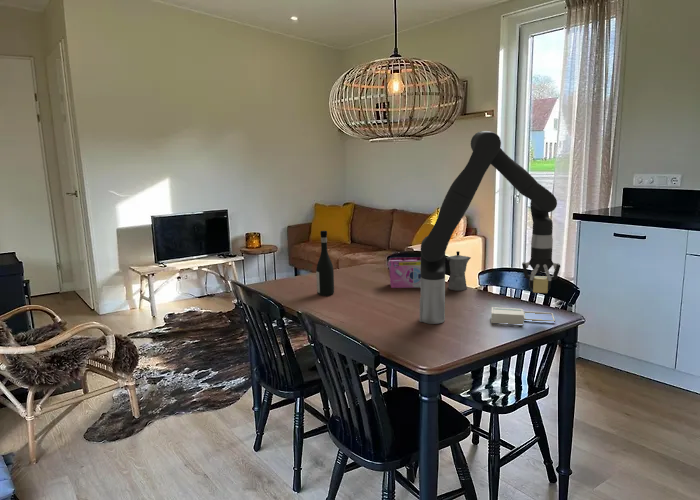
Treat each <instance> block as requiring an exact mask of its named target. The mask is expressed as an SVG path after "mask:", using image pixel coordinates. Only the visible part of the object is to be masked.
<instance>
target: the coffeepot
mask: <svg viewBox="0 0 700 500" xmlns="http://www.w3.org/2000/svg"><path fill="white" fill-rule="evenodd" d="M460 253H461V252H460V251H458V250H457V251H456V254H455V255H449V256H445V262H448V263H449V272H450V274H449V272H448V271H447V268H446V267H445V275H449V280H448V284H447V285H448V286H447V288H448V290H450V291H465V290H468V289H467V288H468V287H467V279H466V270H467V266H468V265H467V264H468V263H469V261H470V259H471V258H472V257H470V256H466V255H460Z"/></svg>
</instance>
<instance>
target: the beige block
mask: <svg viewBox="0 0 700 500" xmlns="http://www.w3.org/2000/svg"><path fill="white" fill-rule="evenodd" d="M532 292H533V293H534V294H536V293H537V294H540V293H541V294H548V279H547V275H545V276H544V275H542V276H541V275H535V276H534V279H533V290H532Z"/></svg>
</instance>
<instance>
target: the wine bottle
mask: <svg viewBox="0 0 700 500" xmlns="http://www.w3.org/2000/svg"><path fill="white" fill-rule="evenodd" d="M319 233H320V244H321V245H320V249H321V250H320V256H319V259H318V262H317V265H316V271H315V273H316V276H315V277H316V294H317V295H318V296H320V297H321V296H322V297H331V296H332V295H334V294H335V271H334V265H333V263H332V261H331V258H330V255H329V253H328V236H327V235H328V231H327V230H321V231H320V232H319Z"/></svg>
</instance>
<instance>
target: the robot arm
mask: <svg viewBox="0 0 700 500" xmlns="http://www.w3.org/2000/svg"><path fill="white" fill-rule="evenodd" d="M501 147H502V141H501V137H500V136H499V135H498V134H497V133H496V132H494V131H489V130H480V131H478V132H477V133H475V134H473V136H472V137H471V140H470V148H471V151H472V152H471V154H470V157H469V159H468V162H467V164H466V165H465V167H464V168H463V170H462V171H461V172H460V173H459V174H458V176H457V177H455V179H454V180H453V182H452V184H451V185H450V187H449V188H448V191H447V193H446V195H445V196H444V199H443V200H442V204H441V206H440V208H439V211H438V216H437V218H436V221H435V223H434V224H433V227H432V229H431V230H430V231H429V233H428V235H427V236H425V237H424V238H423V239H422V241H421V244H420V257H421V287H420V297H419V323H425V324H429V325H434V324H435V325H438V324H442V323H444V322H445V316H446V314H445V312H446V311H445V310H446V306H445V305H446V304H445V303H446V302H445V301H446V297H445V296H446V274H445V268H446V261H445V257H446V251H447V248H448V245H449V243H450V240H451V238H452V236H453V234H454V232H455V230H456V228H457V227H458V225H459V223H460V222H461V221H462V219H463V217H464V216H465V214H466V212H467V210H468V209H469V207H470V205H471V203H472V200H473V199H474V196H475V194H476V192H477V190H478V189H479V186H480V185H481V182H482V180H483V178H484V176H485V175H486V173H487V171H488V169H489V167H490V166H492V167H494V169H496V170H497V171H498V172H499V173H500V174H501V175H502V176H503V177H504V178H505V180H506V181H508V183H510V184H511V185H512V187H514V189H515V190H517V192H519V194H521V195H522V196H523V197H525V198H527V199H529V200H530V203H529V204H530V205H529V206H530V207H529V208H530V213H531V219H532V231H531V232H532V235H531V240H530V241H531V242H530V260H529V261H528V262H525V261H524V262H521V266H522V269H523V275H524V278H525V279H527V280H529V283H528V286H529V289H531V291H533V279H534V276H537V275H536V274H537V273H542V274H545V276H547V279H548V291H549V290H551V288H552V281H554V280H557V279H558V275H559V272H560V268H561V265H560V263H558V262H557V263H555V262H553V242H554V241H553V227H554V226H553V225H554V223H553V220H552V219H551V218H550V216H549V215H550V214H549V213H551V212H553V211H554V210H555V209H556V208H557V206H558V200H557V198H556V196H555V195H554V193H552V192H551V191H550V190H549V189H547V188H546V187H545V186H543V185H542V184H540V183H539V181H537V180H536V179H535V178H534V177H533V176H532V175H531V173H530V172H528V171H527V170H526V169H525V168H524V167H523V166H521V165H520V164H519V163H518V162H516V161H515V160H513V159H512V158H511V157H510V156H509V155H508V154H506V152H505V151H504V150H503V148H501ZM529 266H530V267H531V269H532V270H531V272H530V275H529V274H528V270H527V269H528V268H529ZM552 267H553V269H554V271H553V274H552V275H550V271H549V270H550V269H551V268H552Z"/></svg>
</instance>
